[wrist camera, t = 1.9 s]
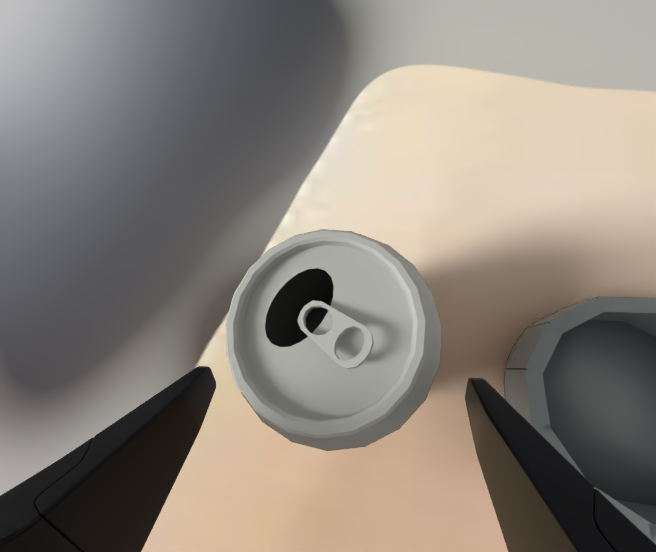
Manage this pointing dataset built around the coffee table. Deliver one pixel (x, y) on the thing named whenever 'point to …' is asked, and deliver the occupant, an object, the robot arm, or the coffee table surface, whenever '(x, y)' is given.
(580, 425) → the ring holder
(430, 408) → the coffee table surface
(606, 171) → the coffee table surface
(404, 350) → the can
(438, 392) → the coffee table surface
